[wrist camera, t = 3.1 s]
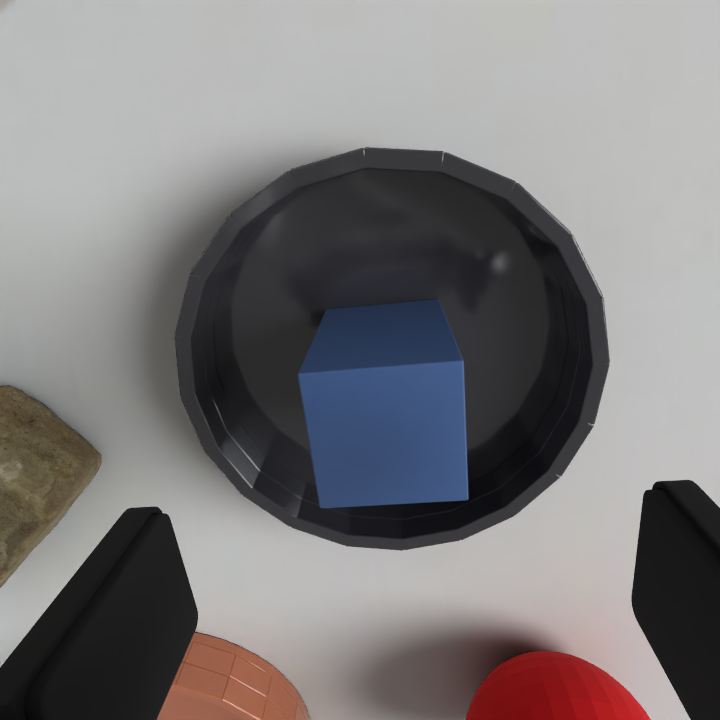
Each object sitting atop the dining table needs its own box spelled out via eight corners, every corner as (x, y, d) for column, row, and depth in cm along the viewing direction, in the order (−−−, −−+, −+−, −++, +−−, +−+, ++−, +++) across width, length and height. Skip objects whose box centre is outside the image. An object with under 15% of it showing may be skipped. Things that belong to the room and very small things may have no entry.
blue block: (339, 409, 21) (319, 509, 15) (325, 309, 19) (296, 373, 13) (444, 401, 20) (468, 501, 14) (439, 298, 19) (464, 360, 13)
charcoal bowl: (139, 372, 21) (101, 403, 18) (358, 52, 16) (352, 28, 14) (406, 555, 24) (408, 606, 21) (658, 329, 19) (704, 356, 16)
